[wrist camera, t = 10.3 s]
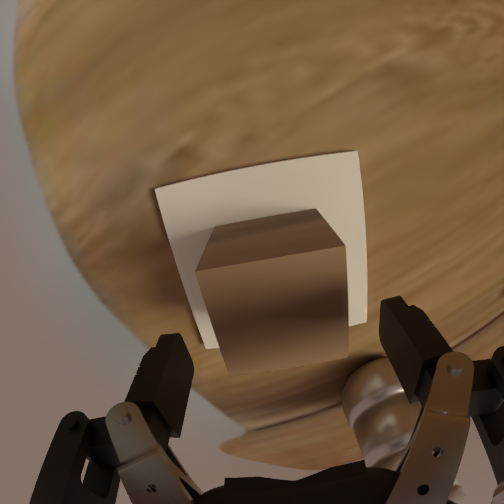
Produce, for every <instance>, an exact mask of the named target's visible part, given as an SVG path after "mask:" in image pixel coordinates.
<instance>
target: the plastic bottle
mask: <svg viewBox="0 0 504 504" xmlns="http://www.w3.org/2000/svg"><path fill="white" fill-rule="evenodd" d="M342 403H343V411H344V413H345V416H346V418H347V420H348V422H349V424H350V426H351V428H352V429H353V430H354V433H355V436H356V439H357V441H358V444H359V447H360V450H361V452H362V455H363V458H364V460H365V465H366V467H381V468H387V469H390V470H394V471H395V470H396V468H397V466H398V464H399V462H400V460H401V458H402V456H403V454H404V451H405V449H406V447H407V444H408V442H409V439H410V437H411V434H412V432H413V429H414V426H415V424H416V421H417V418H418V415H419V412H420V410H421V407H422V406H421V404H420V402H419V401H418V402H415V403H412V404H409V401H408V399H407V397H406V395H405V392H404V390H403V388H402V386H401V384H400V382H399V379H398V377H397V375H396V373H395V371H394V369H393V367H392V365H391V363H390V361H389V359H388V358H380V359H376V360H373V361H370V362H368V363H366V364H364V365H362V366H361V367H360V368H358V369H357V370H356V371H355V372H353V374H352V375H351V376H350V377H349V379H348V380H347V382H346V384H345V386H344V389H343V392H342ZM448 499H449V500H451V501H453V502H455V503H457V504H465V494H464V492H463V490H462V487H461V486H459V483H458V480H457V479H456V478H455V481H454V484H453V487H452V489H451V492H450V495H449V497H448Z"/></svg>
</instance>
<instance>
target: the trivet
mask: <svg viewBox="0 0 504 504" xmlns="http://www.w3.org/2000/svg"><path fill="white" fill-rule="evenodd" d="M155 193H156V197H157V200H158V204H159V208H160V211H161V215H162V218H163V222H164V225H165V229H166V232H167V236H168V239H169V242H170V246H171V249H172V252H173V255H174V259H175V262H176V265H177V268H178V271H179V274H180V277H181V280H182V283H183V286H184V289H185V292H186V295H187V298H188V301H189V304H190V307H191V309H192V312H193V315H194V318H195V321H196V323H197V326H198V329H199V331H200V334H201V337H202V339H203V342H204V345H205V347H206V349H211V348H219V345H218V342H217V339H216V336H215V333H214V330H213V327H212V324H211V321H210V318H209V315H208V312H207V309H206V306H205V303H204V300H203V296H202V293H201V290H200V287H199V284H198V280H197V277H196V274H195V270H196V267H197V265H198V263H199V261H200V258H201V256H202V254H203V251H204V249H205V247H206V245H207V242H208V240H209V238H210V236H211V234H212V231H213V229H214V227H215V226H219V225H224V224H230V223H235V222H240V221H246V220H251V219H257V218H262V217H268V216H273V215H279V214H285V213H291V212H297V211H303V210H309V209H315V208H316V209H317V210H318V211H319V213H320V214H321V215H322V216H323V217H324V219H325V220H326V221H327V222H328V224H329V225H330V226H331V227H332V229H333V230H334V231H335V232H336V234H337V235H338V236H339V238H340V239H341V240H342V241H343V243H344V244H345V245H346V260H347V279H348V313H349V326H352V325H357V324H361V323H366V322H367V251H366V231H365V216H364V203H363V192H362V182H361V174H360V165H359V158H358V151H355V150H354V151H345V152H337V153H329V154H321V155H314V156H307V157H300V158H294V159H288V160H282V161H276V162H270V163H264V164H259V165H254V166H248V167H243V168H238V169H233V170H229V171H224V172H219V173H215V174H210V175H206V176H201V177H197V178H193V179H189V180H184V181H180V182H176V183H172V184H169V185H165V186H161V187H157V188H156V189H155Z"/></svg>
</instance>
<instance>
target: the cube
mask: <svg viewBox="0 0 504 504" xmlns="http://www.w3.org/2000/svg"><path fill="white" fill-rule="evenodd" d="M195 274H196V277H197V280H198V284H199V287H200V290H201V293H202V296H203V300H204V303H205V306H206V309H207V312H208V315H209V318H210V321H211V324H212V327H213V330H214V333H215V336H216V339H217V342H218V345H219V348H220V351H221V353H222V356H223V359H224V362H225V365H226V367H227V370H228V373H229V376H234V375H244V374H252V373H261V372H268V371H275V370H282V369H289V368H295V367H301V366H307V365H312V364H317V363H323V362H328V361H333V360H337V359H342V358H347V357H348V349H349V313H348V279H347V260H346V245H345V244H344V243H343V241H342V240H341V239H340V238H339V236H338V235H337V234H336V232H335V231H334V230H333V229H332V227H331V226H330V225H329V224H328V222H327V221H326V220H325V219H324V217H323V216H322V215H321V214H320V213H319V211H318V210H317V209H316V208H315V209H309V210H303V211H297V212H291V213H285V214H279V215H273V216H268V217H262V218H257V219H251V220H246V221H240V222H235V223H230V224H224V225H219V226H215V227H214V229H213V231H212V234H211V236H210V238H209V240H208V242H207V245H206V247H205V249H204V251H203V254H202V256H201V258H200V261H199V263H198V265H197V267H196V270H195Z"/></svg>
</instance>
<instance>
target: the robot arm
mask: <svg viewBox="0 0 504 504" xmlns="http://www.w3.org/2000/svg"><path fill="white" fill-rule="evenodd" d="M379 337H380V341H381V344H382V346H383V348H384V350H385V352H386V354H387V356H388V359H389V361H390V363H391V365H392V367H393V369H394V371H395V373H396V375H397V377H398V379H399V382H400V384H401V386H402V388H403V390H404V392H405V395H406V397H407V399H408V401H409V404H412V403H415V402H418V401H419V402H420V404H421V406H422V407H421V410H420V412H419V415H418V418H417V421H416V424H415V426H414V429H413V432H412V434H411V437H410V439H409V442H408V444H407V447H406V449H405V451H404V454H403V456H402V458H401V460H400V462H399V464H398V466H397V468H396V470H395V471H394V470H390V469H387V468H381V467H366V465H365V460H361V461H357V462H353V463H349V464H344V465H340V466H335V467H330V468H328V469H326V470H323V471H321V472H318V473H316V474H313V475H310V476H308V477H305V478H303V479H300V480H296V481H288V480H279V479H271V478H264V477H244V478H243V477H242V478H225V484H224V486H220V487H217V488H214V489H212V490H209V491H207V492H205V493H203V492H202V491H201V489H200V488H199V487H198V486H197V485H196V484H195V483H194V481H193V480H192V479H191V478H190V476H189V475H188V473H187V472H186V470H185V469H184V468H183V466H182V465H181V463H180V461H179V460H178V458H177V457H176V455H175V454H174V452H173V451H172V449H171V447H170V446H169V445H168V442H169V438H170V437H174V438H180V435H181V430H182V425H183V421H184V416H185V411H186V407H187V402H188V397H189V393H190V388H191V384H192V379H193V375H194V365H193V361H192V359H191V356H190V354H189V352H188V350H187V347H186V345H185V343H184V340H183V338H182V336H181V335H180V334H179V333H174V334H163V335H161V336H160V337H159V340H158V342H157V345H156V347H151V348H150V350H149V351H148V352H147V353H146V354H145V355H144V356H143V358H142V361H141V363H140V367H139V368H138V370H137V373H136V374H137V375H135V377H134V380H133V382H132V384H131V387H130V390H129V392H128V394H127V397H126V399H125V402H122V403H119V404H117V405H115V406H113V407H112V408H111V409H110V410H109V411H108V413H107V415H106V417H101V418H95V419H90V420H89V419H88V418H87V416H86V415H85V414H84V413H82V412H80V411H74V412H71V413H68V414H67V415H66V416H65V417H63V419H62V420H61V422H60V424H59V426H58V428H57V431H56V433H55V435H54V438H53V440H52V442H51V445H50V447H49V450H48V452H47V455H46V458H45V460H44V463H43V465H42V468H41V471H40V474H39V476H38V479H37V482H36V485H35V488H34V491H33V494H32V497H31V500H30V504H115V502H116V497H117V492H118V488H119V483H120V478H121V481H122V483H123V485H124V487H125V489H126V491H127V494H128V496H129V498H130V500H131V502H132V504H457V503H455V502H453V501H451V500H449V499H448V497H449V495H450V492H451V489H452V487H453V484H454V481H455V478H456V475H457V472H458V469H459V466H460V462H461V459H462V455H463V452H464V448H465V444H466V440H467V436H468V431H469V427H470V417H472V419H473V421H474V424H475V426H476V428H477V431H478V433H479V435H480V438H481V440H482V443H483V445H484V448H485V450H486V453H487V455H488V458H489V460H490V463H491V466H492V469H493V471H494V474H495V477H496V481H497V483H498V486H497V488H496V489H495V491H494V494H493V500H492V503H491V504H504V346H502V347H499V348H498V349H496V351H495V352H494V354H493V356H492V359H486V360H478V361H472V360H471V358H470V357H468V356H467V355H466V354H464V353H461V352H453V350H452V349H451V348H450V346H449V345H448V343H447V342H446V341H445V339H444V338H443V336H442V335H441V334H440V332H439V331H438V330H437V328H435V326H434V324H433V323H432V322H431V321H430V319H429V318H428V316H427V315H426V314H425V313H424V311H423V310H421V309H419V308H418V307H416V306H414V305H411V306H408V305H407V304H406V302H405V301H404V300H403V298H402V297H401V296H396V297H392V298H388V299H384V300H382V301H381V307H380V323H379ZM86 458H87V459H88V460H89V463H88V466H87V470H86V474H85V477H84V480H83V484H82V482H81V473H82V470H83V467H84V463H85V460H86Z"/></svg>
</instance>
